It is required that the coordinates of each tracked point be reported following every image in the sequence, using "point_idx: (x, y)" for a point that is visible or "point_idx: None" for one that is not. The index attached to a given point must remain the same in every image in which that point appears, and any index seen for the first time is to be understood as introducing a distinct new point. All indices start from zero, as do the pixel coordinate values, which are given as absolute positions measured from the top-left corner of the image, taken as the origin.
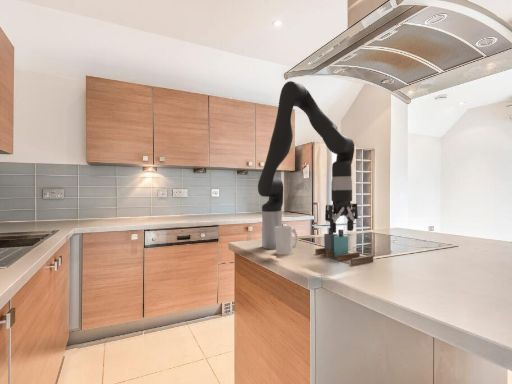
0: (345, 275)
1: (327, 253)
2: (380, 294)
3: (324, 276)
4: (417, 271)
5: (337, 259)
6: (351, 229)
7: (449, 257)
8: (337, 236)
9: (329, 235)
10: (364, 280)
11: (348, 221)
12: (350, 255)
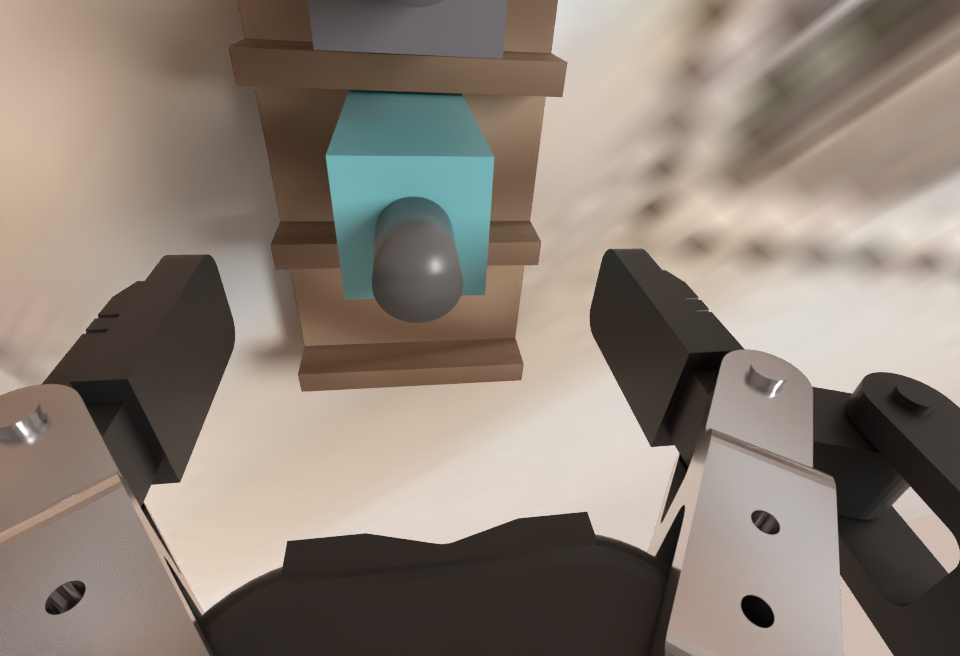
0: None
1: (239, 77)
2: (186, 574)
3: (17, 376)
4: (567, 480)
5: (308, 186)
6: (596, 336)
7: None
8: (347, 222)
9: (310, 10)
10: (232, 482)
11: (670, 375)
12: None
